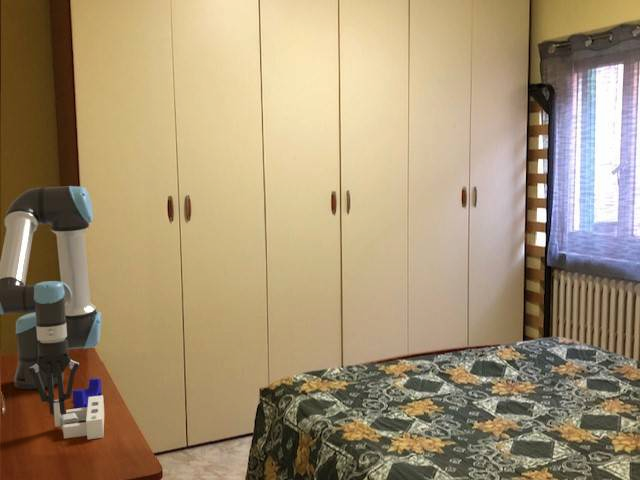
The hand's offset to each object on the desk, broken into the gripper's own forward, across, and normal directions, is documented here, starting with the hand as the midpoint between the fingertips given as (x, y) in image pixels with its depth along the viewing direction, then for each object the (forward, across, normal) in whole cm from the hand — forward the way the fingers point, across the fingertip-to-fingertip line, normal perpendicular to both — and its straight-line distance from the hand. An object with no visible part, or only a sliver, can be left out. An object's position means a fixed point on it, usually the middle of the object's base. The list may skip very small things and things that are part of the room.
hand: (58, 424), depth 194 cm
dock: (+2, +8, 0) cm, 8 cm away
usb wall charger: (+2, +3, 0) cm, 3 cm away
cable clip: (+2, +6, +20) cm, 21 cm away
